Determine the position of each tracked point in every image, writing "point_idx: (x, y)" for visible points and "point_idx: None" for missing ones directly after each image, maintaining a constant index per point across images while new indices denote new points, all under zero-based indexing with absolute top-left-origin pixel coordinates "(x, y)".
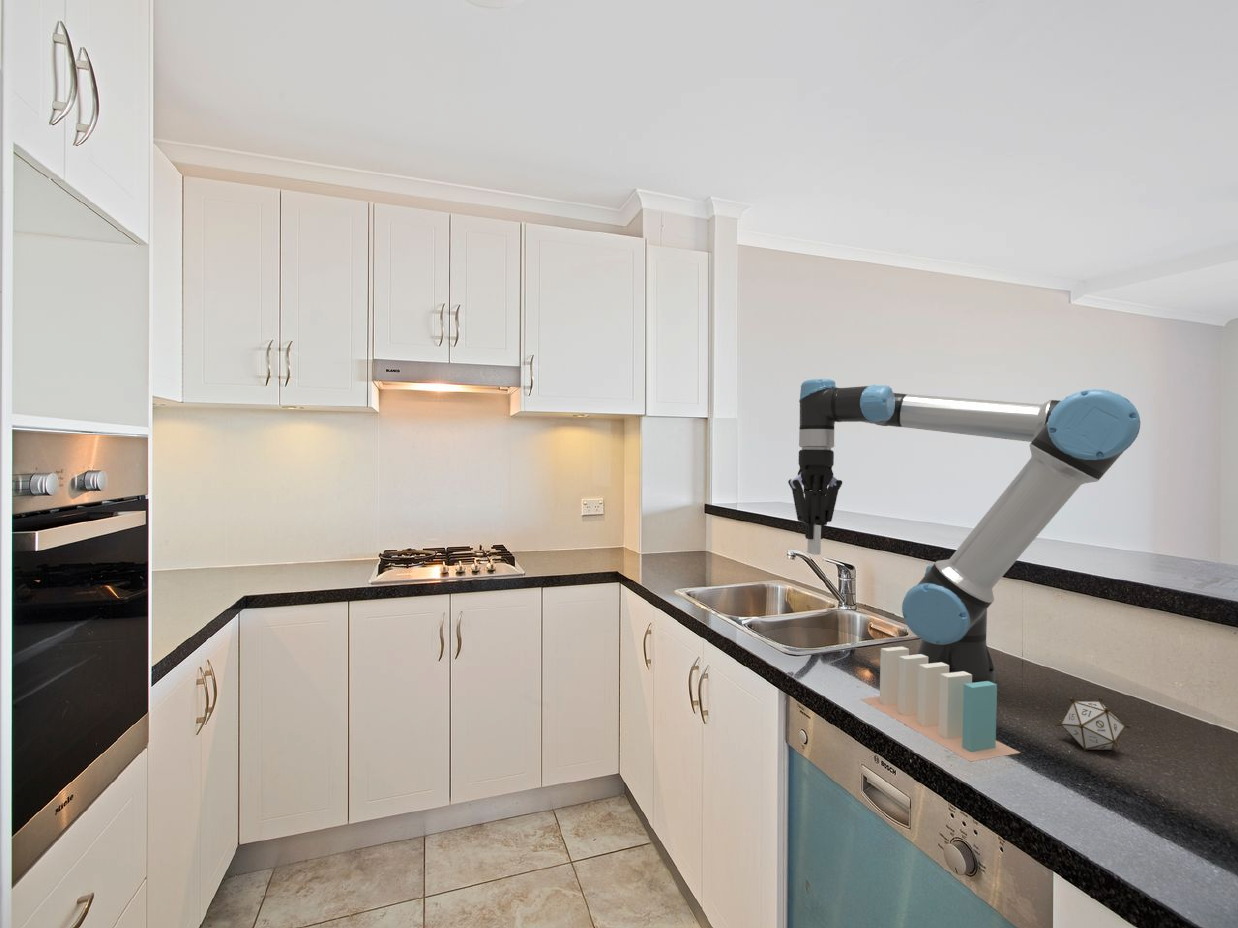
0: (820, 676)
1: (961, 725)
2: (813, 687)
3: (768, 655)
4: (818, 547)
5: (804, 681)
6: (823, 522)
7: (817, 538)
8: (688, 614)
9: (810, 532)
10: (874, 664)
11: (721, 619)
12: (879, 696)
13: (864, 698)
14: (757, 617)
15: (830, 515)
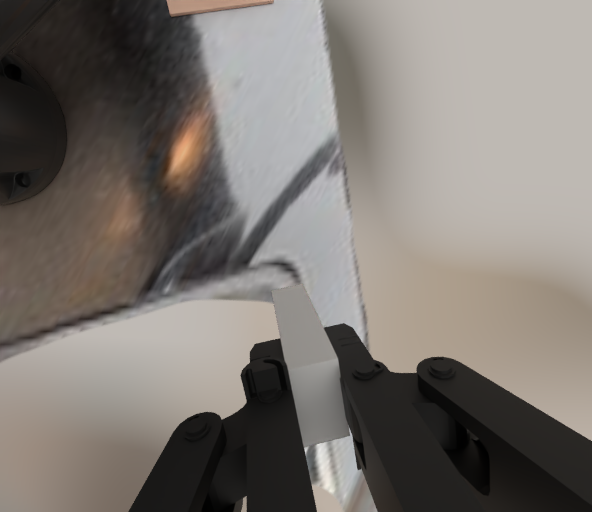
0: (285, 144)
1: None
2: (325, 89)
3: (334, 265)
4: (286, 300)
5: (328, 122)
6: (267, 386)
7: (301, 320)
8: None
9: (350, 345)
10: (139, 202)
11: (337, 471)
12: (227, 6)
13: (263, 1)
14: None
15: (182, 460)
